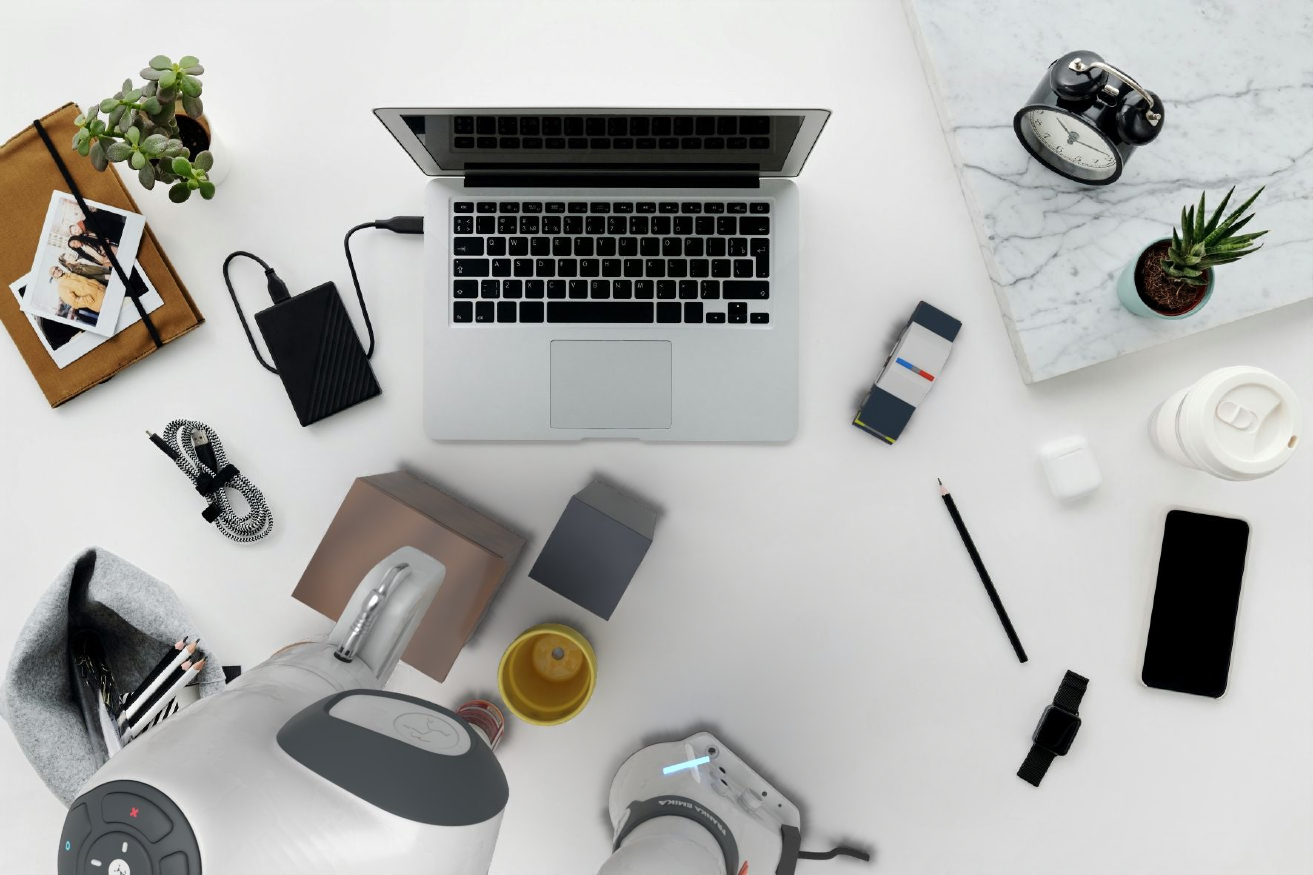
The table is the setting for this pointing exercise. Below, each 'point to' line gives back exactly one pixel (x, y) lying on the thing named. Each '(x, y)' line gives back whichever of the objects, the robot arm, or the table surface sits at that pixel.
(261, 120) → the table surface
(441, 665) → the chest lid
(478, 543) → the chest
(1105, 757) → the table surface
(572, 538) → the stand
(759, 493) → the table surface
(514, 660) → the flower pot
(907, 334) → the toy car
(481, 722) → the pill bottle
